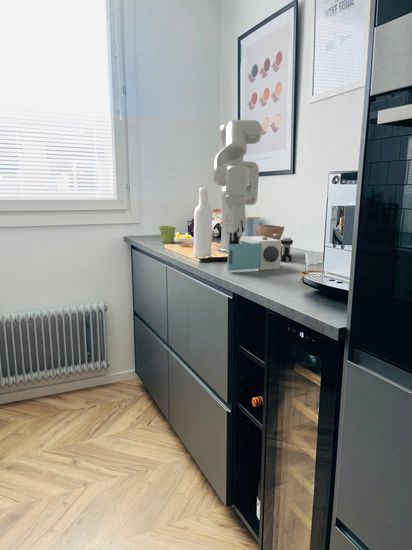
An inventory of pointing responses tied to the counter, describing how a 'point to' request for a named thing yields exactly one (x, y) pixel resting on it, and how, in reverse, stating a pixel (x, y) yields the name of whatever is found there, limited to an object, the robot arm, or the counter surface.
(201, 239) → the bottle
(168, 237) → the plant pot
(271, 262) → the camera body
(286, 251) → the push button
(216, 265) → the counter surface
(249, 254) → the side door
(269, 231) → the ceramic jug
